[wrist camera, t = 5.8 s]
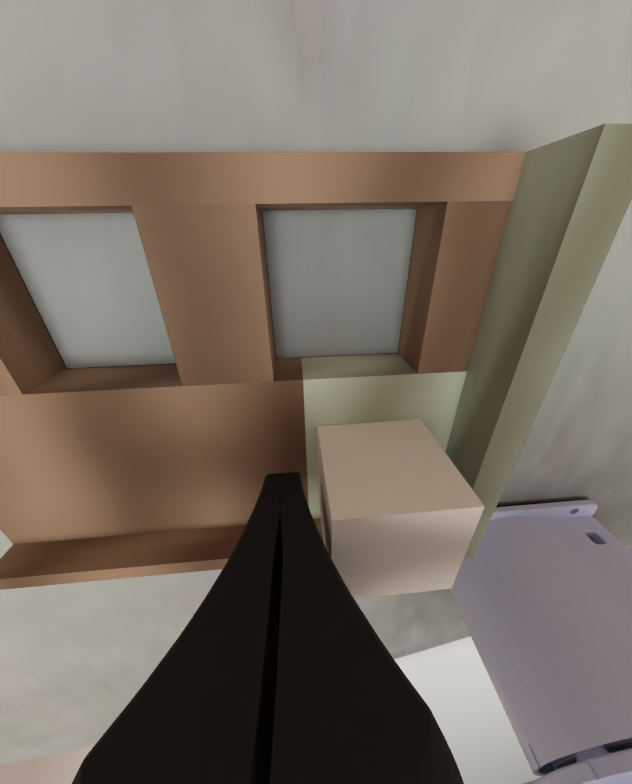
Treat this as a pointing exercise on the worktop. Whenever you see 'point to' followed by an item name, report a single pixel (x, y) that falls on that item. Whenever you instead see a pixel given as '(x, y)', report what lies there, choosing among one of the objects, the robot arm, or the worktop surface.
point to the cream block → (392, 507)
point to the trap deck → (257, 346)
